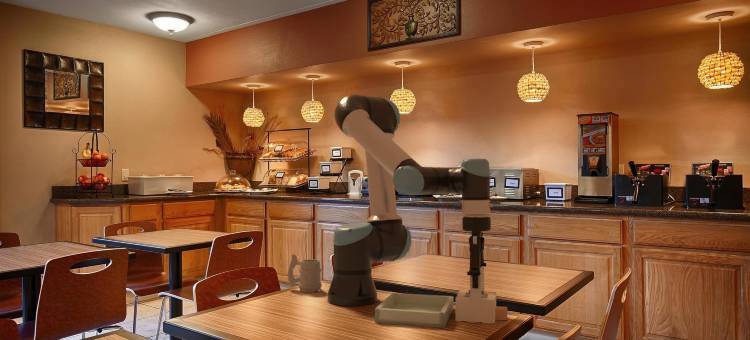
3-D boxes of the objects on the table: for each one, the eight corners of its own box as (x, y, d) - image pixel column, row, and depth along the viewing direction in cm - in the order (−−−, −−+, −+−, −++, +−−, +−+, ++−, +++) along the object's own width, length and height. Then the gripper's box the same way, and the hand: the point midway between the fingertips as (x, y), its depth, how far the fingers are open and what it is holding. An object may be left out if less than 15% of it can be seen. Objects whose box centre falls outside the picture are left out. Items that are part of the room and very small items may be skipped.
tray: (374, 322, 135) (374, 308, 135) (392, 304, 155) (392, 292, 155) (444, 327, 131) (444, 313, 131) (453, 308, 150) (453, 296, 150)
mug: (318, 293, 170) (318, 256, 170) (283, 291, 172) (283, 255, 172) (324, 288, 178) (324, 253, 178) (291, 287, 180) (291, 252, 180)
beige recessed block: (455, 321, 137) (455, 298, 137) (459, 311, 147) (459, 290, 147) (506, 324, 134) (506, 301, 134) (507, 315, 143) (507, 292, 143)
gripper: (488, 218, 128) (489, 306, 127) (492, 213, 152) (493, 287, 151) (457, 218, 130) (458, 304, 129) (466, 213, 154) (467, 286, 153)
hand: (477, 295), depth 140 cm, fingers open, 13 cm apart
